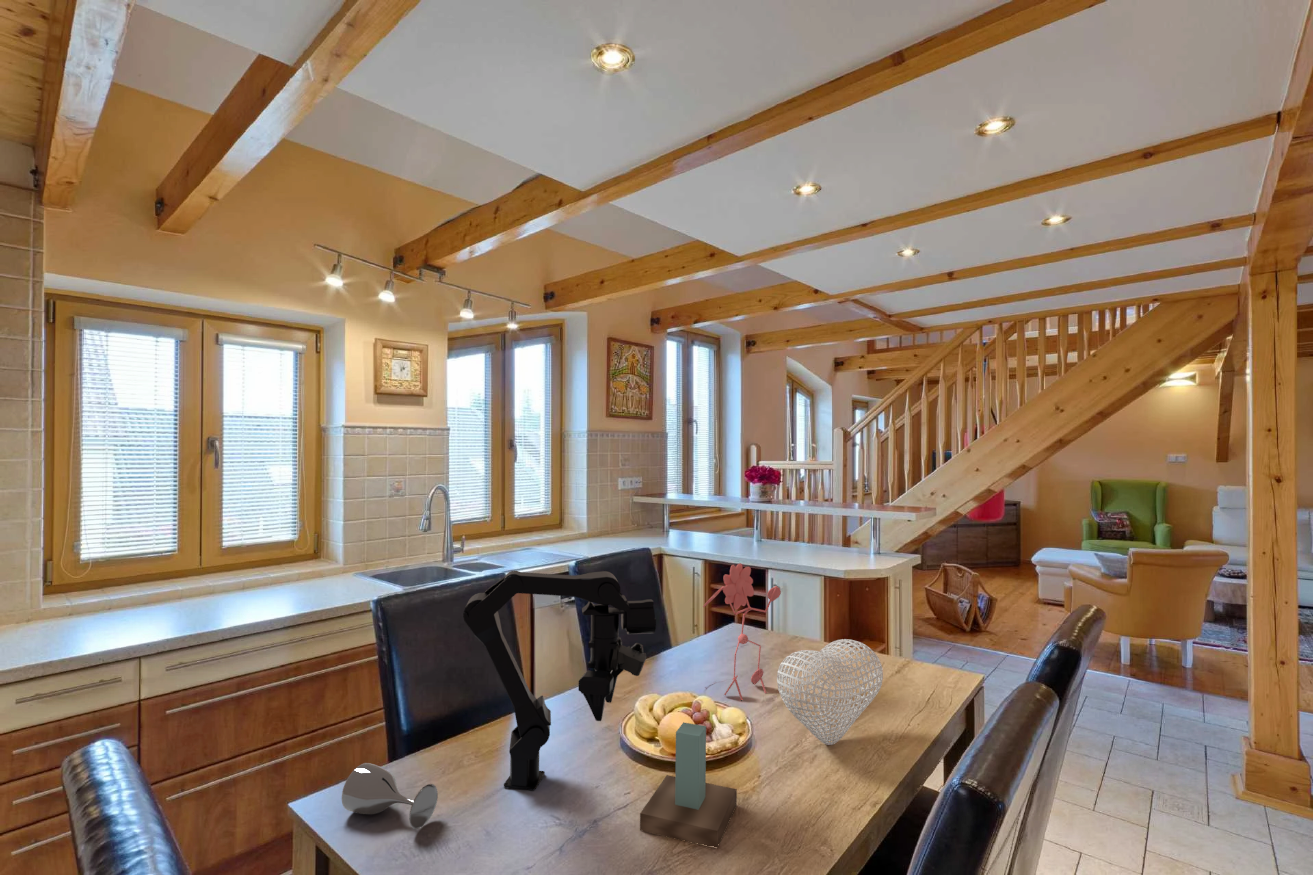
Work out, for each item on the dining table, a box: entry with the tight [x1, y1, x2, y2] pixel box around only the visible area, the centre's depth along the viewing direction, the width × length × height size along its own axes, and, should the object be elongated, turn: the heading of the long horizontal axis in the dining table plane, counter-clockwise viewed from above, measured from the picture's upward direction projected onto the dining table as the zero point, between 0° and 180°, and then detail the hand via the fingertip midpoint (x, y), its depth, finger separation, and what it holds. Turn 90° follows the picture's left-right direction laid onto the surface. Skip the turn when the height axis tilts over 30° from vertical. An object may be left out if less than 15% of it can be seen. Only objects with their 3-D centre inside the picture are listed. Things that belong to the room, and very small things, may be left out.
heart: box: [776, 638, 884, 746], centre depth 146 cm, size 28×16×22 cm, turn 127°
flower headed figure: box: [702, 562, 782, 701], centre depth 178 cm, size 15×26×35 cm, turn 128°
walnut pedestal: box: [639, 774, 738, 848], centre depth 117 cm, size 14×14×3 cm
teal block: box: [674, 721, 707, 810], centre depth 117 cm, size 4×4×13 cm
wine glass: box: [341, 762, 439, 830], centre depth 116 cm, size 8×8×15 cm
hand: (604, 711), depth 131 cm, fingers open, 9 cm apart
